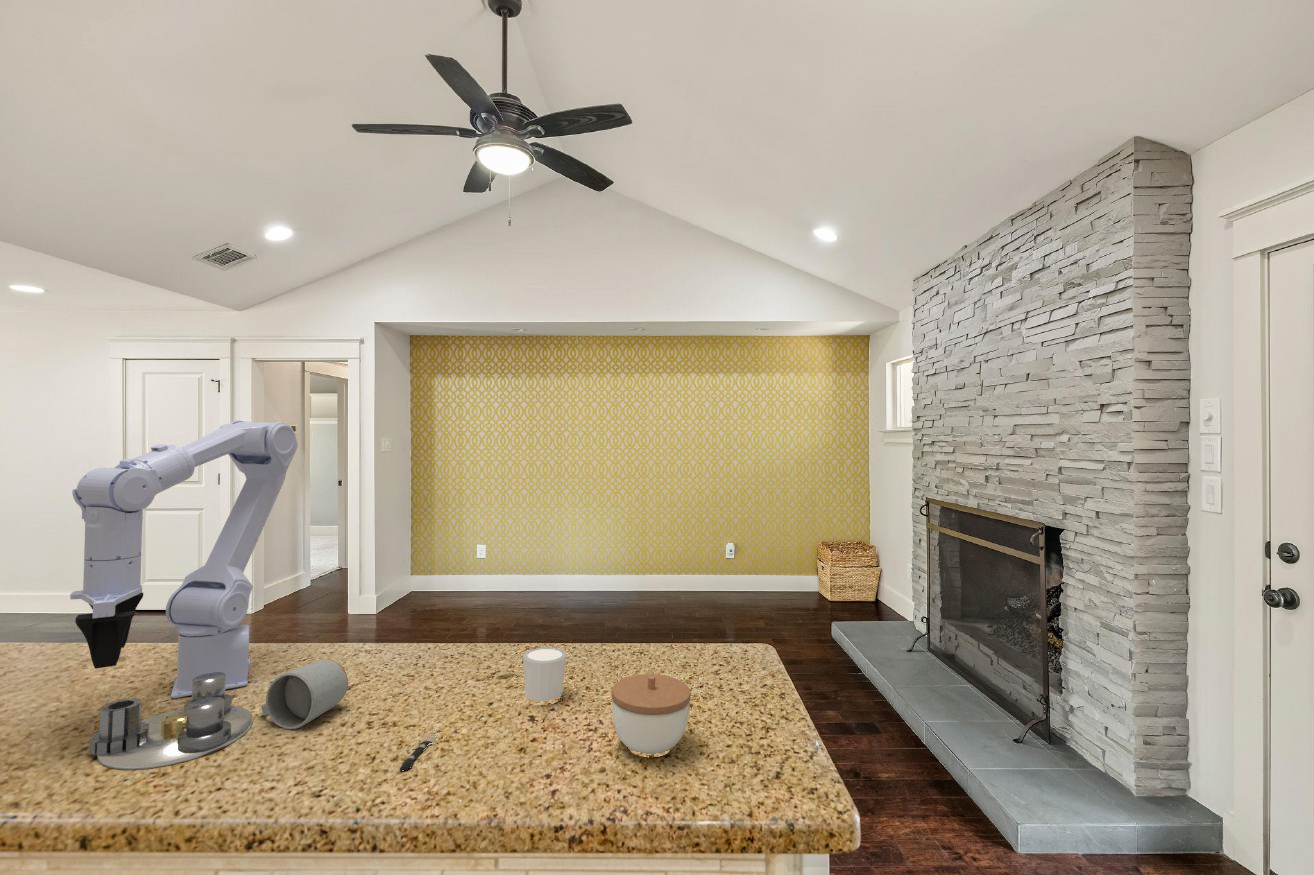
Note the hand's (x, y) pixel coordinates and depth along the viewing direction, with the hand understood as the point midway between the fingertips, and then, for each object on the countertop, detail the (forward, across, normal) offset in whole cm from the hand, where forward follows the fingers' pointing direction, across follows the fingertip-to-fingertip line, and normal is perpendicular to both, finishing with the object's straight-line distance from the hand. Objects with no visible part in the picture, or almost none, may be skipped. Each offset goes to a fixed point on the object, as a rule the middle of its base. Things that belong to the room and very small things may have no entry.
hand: (110, 657), depth 80 cm
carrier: (+10, +7, +8) cm, 15 cm away
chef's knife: (+10, +25, +37) cm, 46 cm away
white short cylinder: (+10, +22, +54) cm, 59 cm away
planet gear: (+9, +7, +2) cm, 12 cm away
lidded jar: (+10, +43, +59) cm, 74 cm away
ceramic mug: (+10, +9, +21) cm, 25 cm away
